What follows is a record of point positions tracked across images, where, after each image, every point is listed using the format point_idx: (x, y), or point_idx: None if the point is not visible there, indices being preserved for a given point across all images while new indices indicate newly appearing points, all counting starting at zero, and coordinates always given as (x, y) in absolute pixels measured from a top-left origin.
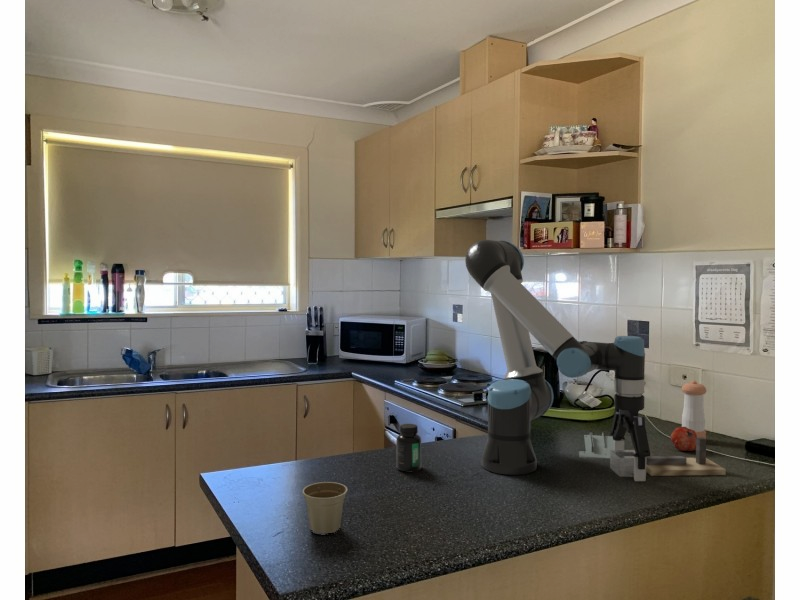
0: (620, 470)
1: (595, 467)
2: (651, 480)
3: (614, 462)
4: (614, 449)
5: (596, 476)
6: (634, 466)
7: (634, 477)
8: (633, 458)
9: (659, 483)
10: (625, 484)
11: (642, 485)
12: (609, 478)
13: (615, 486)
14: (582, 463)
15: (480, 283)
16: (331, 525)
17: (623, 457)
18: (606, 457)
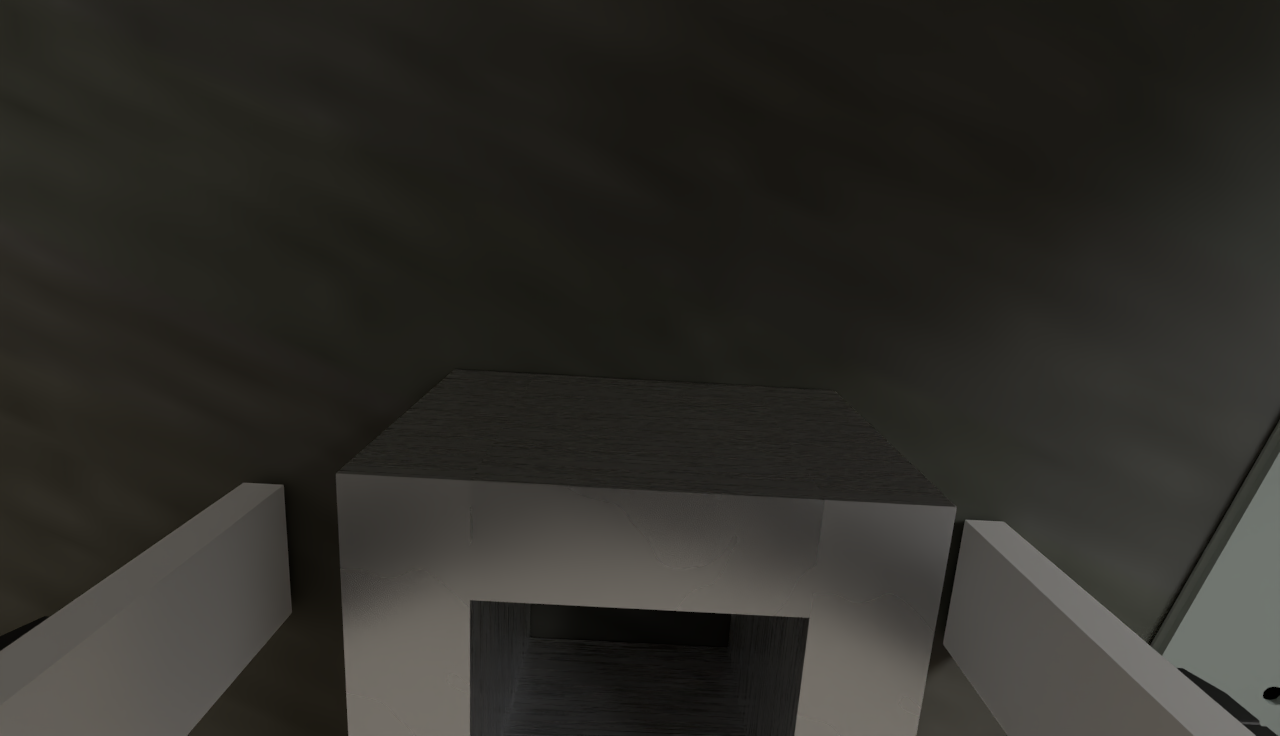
0: (428, 401)
1: (900, 180)
2: (319, 693)
3: (671, 425)
4: (1122, 658)
5: (489, 11)
6: (125, 591)
7: (243, 503)
8: (353, 732)
9: (217, 732)
10: (152, 310)
11: (130, 513)
12: (395, 186)
13: (55, 127)
14: (1133, 38)
15: None
16: None
17: (389, 563)
18: (1255, 525)
